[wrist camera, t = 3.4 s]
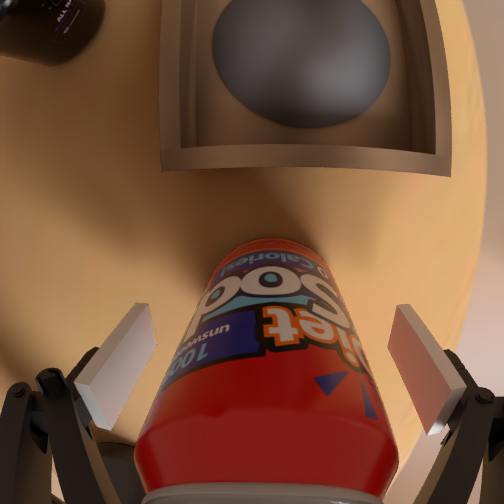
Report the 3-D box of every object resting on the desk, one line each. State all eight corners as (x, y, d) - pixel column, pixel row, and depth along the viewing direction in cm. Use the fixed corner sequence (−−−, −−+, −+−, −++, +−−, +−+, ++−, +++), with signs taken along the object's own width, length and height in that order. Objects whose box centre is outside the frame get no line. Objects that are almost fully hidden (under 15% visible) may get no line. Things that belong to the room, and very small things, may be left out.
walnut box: (185, 166, 17) (161, 171, 13) (186, -29, 12) (169, -60, 9) (417, 170, 16) (450, 176, 12) (398, -22, 11) (419, -48, 8)
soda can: (247, 356, 21) (218, 560, 7) (188, 266, 19) (58, 474, 5) (350, 314, 19) (420, 527, 5) (301, 210, 17) (390, 433, 3)
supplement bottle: (119, 29, 14) (-7, -39, 3) (46, 85, 15) (-86, 75, 4) (98, -26, 12) (2, -89, 1) (33, 26, 13) (-74, 0, 2)
